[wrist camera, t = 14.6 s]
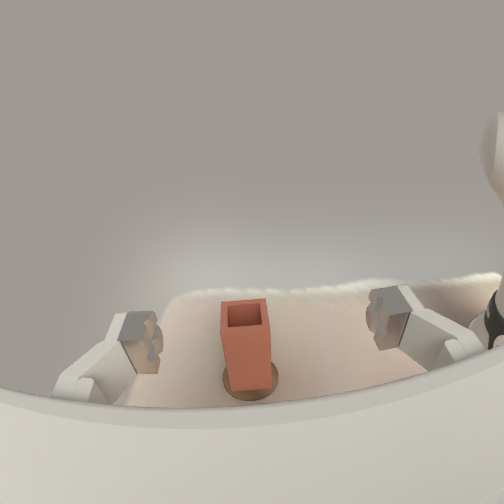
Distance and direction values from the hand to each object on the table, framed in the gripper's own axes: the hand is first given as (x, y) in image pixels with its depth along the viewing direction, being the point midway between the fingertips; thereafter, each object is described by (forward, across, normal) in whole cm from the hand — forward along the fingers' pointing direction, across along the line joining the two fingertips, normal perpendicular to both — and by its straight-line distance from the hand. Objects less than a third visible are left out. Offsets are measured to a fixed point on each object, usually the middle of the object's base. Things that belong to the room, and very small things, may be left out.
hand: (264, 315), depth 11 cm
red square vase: (+19, +2, +29) cm, 35 cm away
